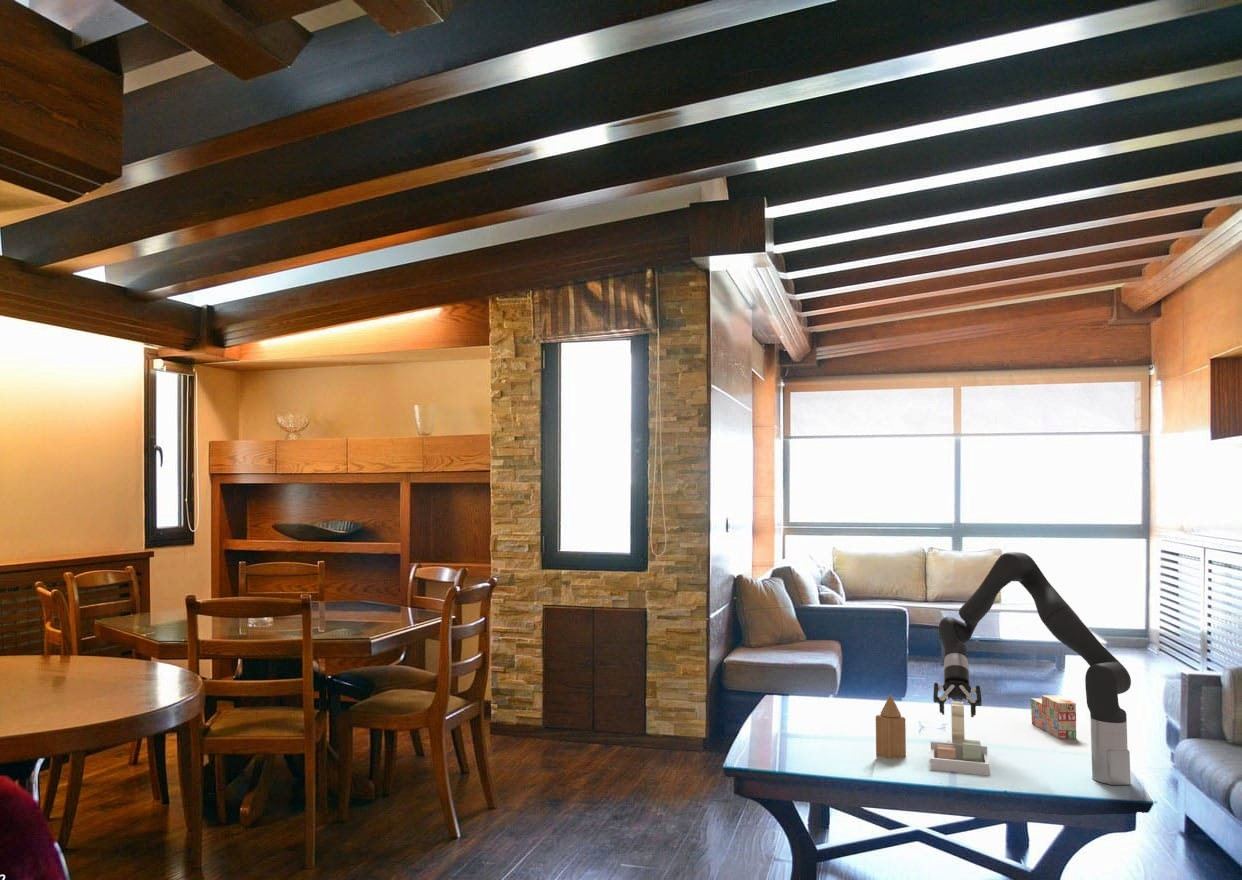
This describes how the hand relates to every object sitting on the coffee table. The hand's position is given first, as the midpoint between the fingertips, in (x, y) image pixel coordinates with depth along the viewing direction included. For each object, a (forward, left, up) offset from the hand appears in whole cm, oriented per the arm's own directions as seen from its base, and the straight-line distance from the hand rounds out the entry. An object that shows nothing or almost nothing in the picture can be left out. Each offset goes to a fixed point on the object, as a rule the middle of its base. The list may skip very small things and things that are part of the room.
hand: (957, 714), depth 278 cm
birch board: (-2, +1, -12) cm, 12 cm away
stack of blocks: (+32, -50, -14) cm, 61 cm away
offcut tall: (-13, +2, -12) cm, 18 cm away
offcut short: (-10, +9, -12) cm, 18 cm away
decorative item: (+1, +21, -14) cm, 25 cm away
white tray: (-7, +3, -14) cm, 16 cm away
